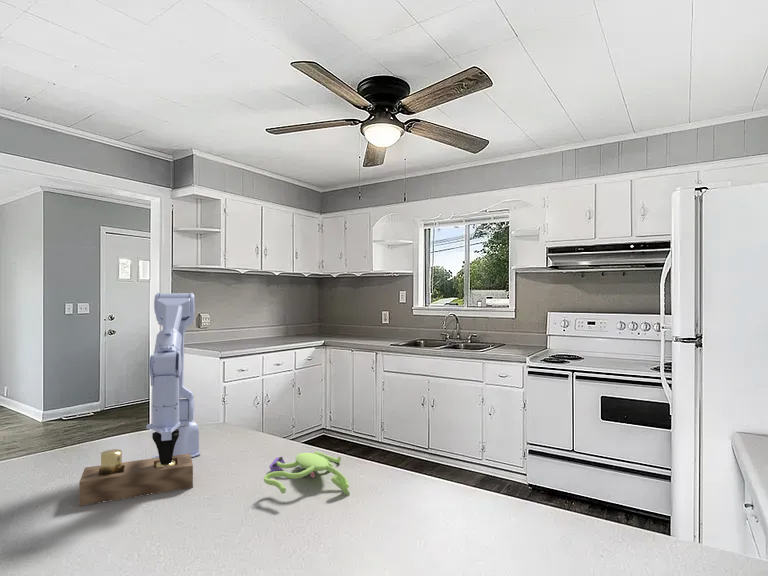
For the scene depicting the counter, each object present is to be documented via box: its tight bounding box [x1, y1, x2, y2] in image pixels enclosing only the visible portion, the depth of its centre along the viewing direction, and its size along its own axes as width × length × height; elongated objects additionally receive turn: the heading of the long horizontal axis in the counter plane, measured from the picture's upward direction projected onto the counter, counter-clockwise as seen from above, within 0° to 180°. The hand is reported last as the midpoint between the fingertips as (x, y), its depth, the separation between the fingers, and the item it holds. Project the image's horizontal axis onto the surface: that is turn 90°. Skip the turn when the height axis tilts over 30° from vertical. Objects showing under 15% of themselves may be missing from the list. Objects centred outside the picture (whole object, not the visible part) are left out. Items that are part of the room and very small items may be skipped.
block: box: [78, 453, 194, 507], centre depth 110 cm, size 22×9×5 cm, turn 115°
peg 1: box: [100, 448, 123, 476], centre depth 108 cm, size 4×4×5 cm
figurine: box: [263, 450, 351, 495], centre depth 115 cm, size 18×27×6 cm
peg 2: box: [156, 460, 175, 468], centre depth 113 cm, size 4×4×5 cm
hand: (165, 463), depth 113 cm, fingers closed, pressing on peg 2
